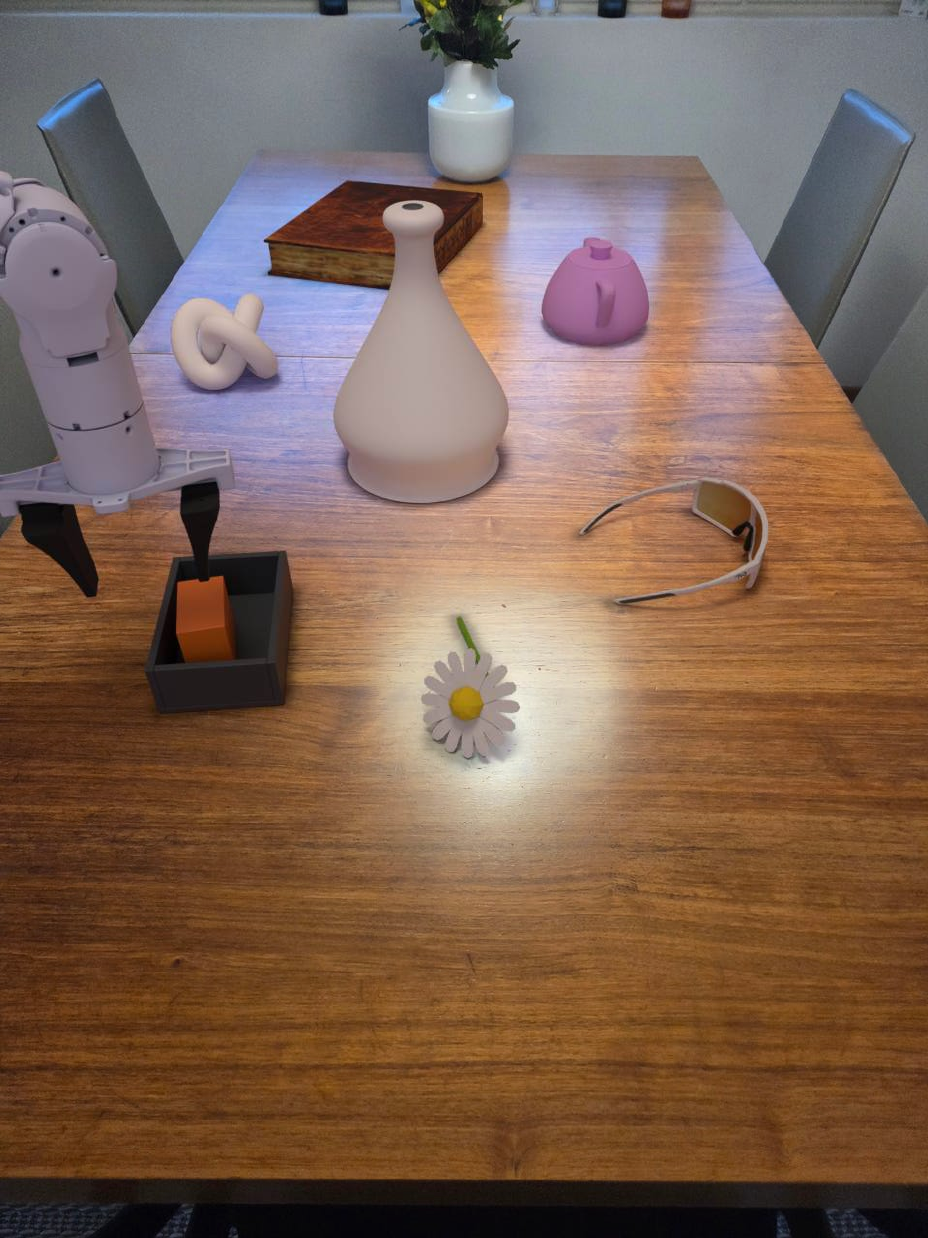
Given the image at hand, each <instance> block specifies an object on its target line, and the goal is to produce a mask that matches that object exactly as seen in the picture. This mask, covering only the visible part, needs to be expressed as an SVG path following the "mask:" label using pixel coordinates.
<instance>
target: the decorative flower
mask: <svg viewBox="0 0 928 1238" xmlns="http://www.w3.org/2000/svg"><path fill="white" fill-rule="evenodd" d="M456 621H457V623H458V625H459V629H460V631H461V632H462V635H463V637H464V639H465V642H466V644H467V646H468V647H469V648H467V649H466V650H465V652H464V654H463V666H462V663H461V659H460V656H459V654H458V653H457V652H456V651H453V650H451V651H450V652H449V653H448V654H447V662H448V666H449V668H448V666H447V665H446V663H444V662H443V661H441V660H437V661H435V662H434V664H433V665H434V666H433V668H434V671H435V673H436V674H437V675H438V677H439V678H440V679H441V680H442V681H441V680H439V679H437V678H436V677H435V676H431V675H426V677H424V679H423V684H424V685H425V686H426V687H427V689H429V690H431V691H433V692H434V693H430V692H427V693H423V694H422V695H421V697H420V702H421V704H423V705H425V706H426V707H436V708H434V709H431V710H428V711H426V712H425V713H424V714H423V718H422V720H423V722H424V723H425V724H433V723H436V722H439V721H441V722H439V723H438V724H437V725H436V726H435V727H434V728H433V731H432V733H431V734H432V737H433V739H434V740H436V741H439V740H441V739H443V738H444V737H445V736H446V735H447V734H448V735H447V738H446V740H445V744H444V745H445V746H444V747H445V749H446V751H447V752H448V753H453V752H454V751H455V750H456V749H457V747H458V744H459V742H460V740H461V753H462V756H464V758H467V759H468V758H471V757H473V753H474V744H475V747H476V750H477V751H478V753H479V754H480V755H481V756H483V757H487V756H488V755H489V754H490V745H489V743H488V741H487V740H488V739H489V740H490V741H491V743H492V744H493V745H495V746H496V747H498V748H501V747H504V746H505V744H506V739H505V737H504V735H503V734H502V733H501V732H500V730H503V731H504V732H509V733H512V732H513V731H514V730H516V723H515V722H514V721H513V720H512V719H511V718H509V717H507V716H505V715H503V714H515V713H518V712H519V711H520V709H521V705H520V703H519V702H518V701H516V700H512V699H503V698H504V697H509V696H511V695H513V694H514V693H515V692H516V691H517V684H516V683H515V682H514V681H506V682H503V683H501V684H499V682H501V681H502V679H504V678H505V677H506V675H507V673H508V669H507V666H506V665H503V664H500V665H498V666H495V667H494V669H493V670H491V671H490V672H489V670H490V668H491V665H492V662H493V656H492V654H491V653H488V652H486V653H483V655H481V654H480V652H479V651H478V649H477V647H476V645H475V643H474V641H473V639H472V637H471V635H470V633H469V630H468V628H467V626H466V624H465V621H464V619H463V618H462V616H457V617H456ZM476 663H477V665H476ZM497 684H498V685H497ZM501 713H503V714H501ZM498 728H499V729H500V730H499V729H498ZM486 736H487V737H488V739H487V737H486Z"/></svg>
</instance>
